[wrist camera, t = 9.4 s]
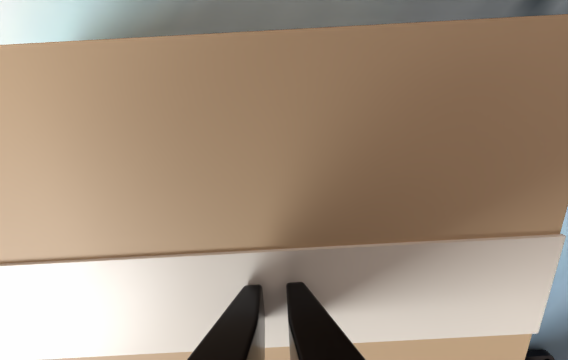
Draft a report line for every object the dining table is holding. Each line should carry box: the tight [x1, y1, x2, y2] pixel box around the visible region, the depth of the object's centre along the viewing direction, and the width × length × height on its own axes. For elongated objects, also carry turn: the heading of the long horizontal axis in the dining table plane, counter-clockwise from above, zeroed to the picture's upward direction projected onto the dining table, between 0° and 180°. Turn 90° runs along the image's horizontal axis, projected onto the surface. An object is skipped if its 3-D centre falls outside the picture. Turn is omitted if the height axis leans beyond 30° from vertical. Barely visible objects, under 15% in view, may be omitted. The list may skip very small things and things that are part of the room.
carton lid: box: [0, 14, 568, 360], centre depth 8 cm, size 16×12×1 cm
